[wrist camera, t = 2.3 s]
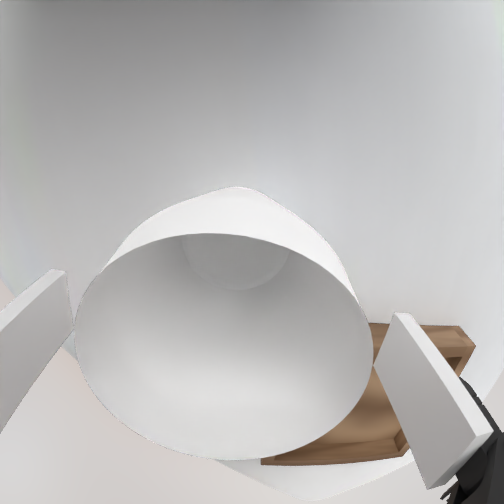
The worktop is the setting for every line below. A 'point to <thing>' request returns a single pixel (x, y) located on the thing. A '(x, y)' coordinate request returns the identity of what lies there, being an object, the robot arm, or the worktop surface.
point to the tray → (374, 411)
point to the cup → (225, 330)
